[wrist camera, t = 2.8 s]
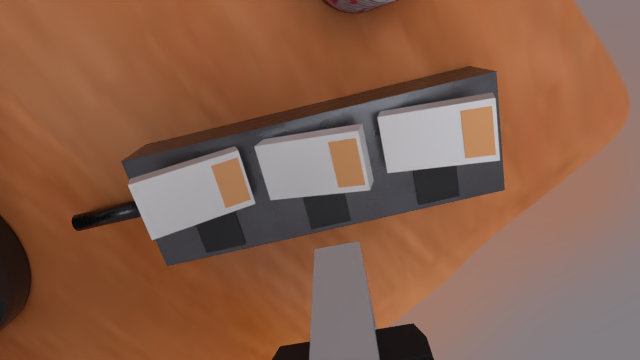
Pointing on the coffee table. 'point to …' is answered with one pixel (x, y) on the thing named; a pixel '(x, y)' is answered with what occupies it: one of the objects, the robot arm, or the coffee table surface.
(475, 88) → the power strip
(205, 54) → the coffee table surface
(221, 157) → the block
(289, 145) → the block
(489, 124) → the block
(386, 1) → the beverage can
